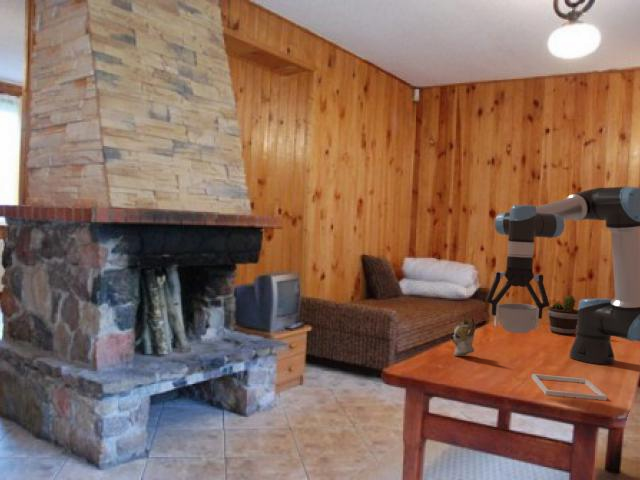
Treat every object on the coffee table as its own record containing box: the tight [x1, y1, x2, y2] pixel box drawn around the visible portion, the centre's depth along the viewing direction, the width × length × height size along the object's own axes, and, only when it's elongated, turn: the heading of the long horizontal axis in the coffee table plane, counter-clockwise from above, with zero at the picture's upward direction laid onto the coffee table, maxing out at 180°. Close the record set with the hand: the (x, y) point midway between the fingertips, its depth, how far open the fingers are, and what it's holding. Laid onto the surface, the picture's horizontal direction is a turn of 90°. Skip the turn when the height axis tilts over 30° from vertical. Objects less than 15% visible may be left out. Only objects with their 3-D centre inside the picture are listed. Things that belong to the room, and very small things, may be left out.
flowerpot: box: [546, 293, 578, 336], centre depth 265 cm, size 14×15×20 cm
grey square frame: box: [531, 373, 608, 401], centre depth 170 cm, size 17×19×2 cm
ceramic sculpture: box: [450, 313, 476, 357], centre depth 206 cm, size 11×9×15 cm
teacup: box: [498, 302, 537, 334], centre depth 172 cm, size 14×11×8 cm
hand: (515, 327), depth 172 cm, fingers closed on teacup, 11 cm apart
